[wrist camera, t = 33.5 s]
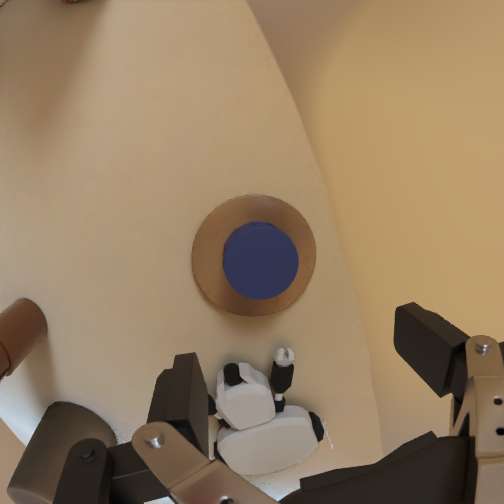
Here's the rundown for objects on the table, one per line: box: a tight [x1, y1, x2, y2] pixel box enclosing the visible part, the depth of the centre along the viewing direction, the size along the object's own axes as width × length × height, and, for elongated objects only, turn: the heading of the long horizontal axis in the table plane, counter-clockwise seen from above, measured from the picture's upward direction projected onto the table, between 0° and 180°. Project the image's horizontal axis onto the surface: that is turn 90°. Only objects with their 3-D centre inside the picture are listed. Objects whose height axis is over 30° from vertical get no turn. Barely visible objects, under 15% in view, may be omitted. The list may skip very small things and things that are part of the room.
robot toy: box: [208, 348, 334, 475], centre depth 27 cm, size 12×4×15 cm
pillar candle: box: [7, 402, 117, 504], centre depth 20 cm, size 10×10×15 cm
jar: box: [0, 298, 47, 382], centre depth 19 cm, size 5×5×9 cm
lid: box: [222, 221, 299, 300], centre depth 23 cm, size 5×5×3 cm
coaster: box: [192, 195, 316, 316], centre depth 24 cm, size 10×10×1 cm
